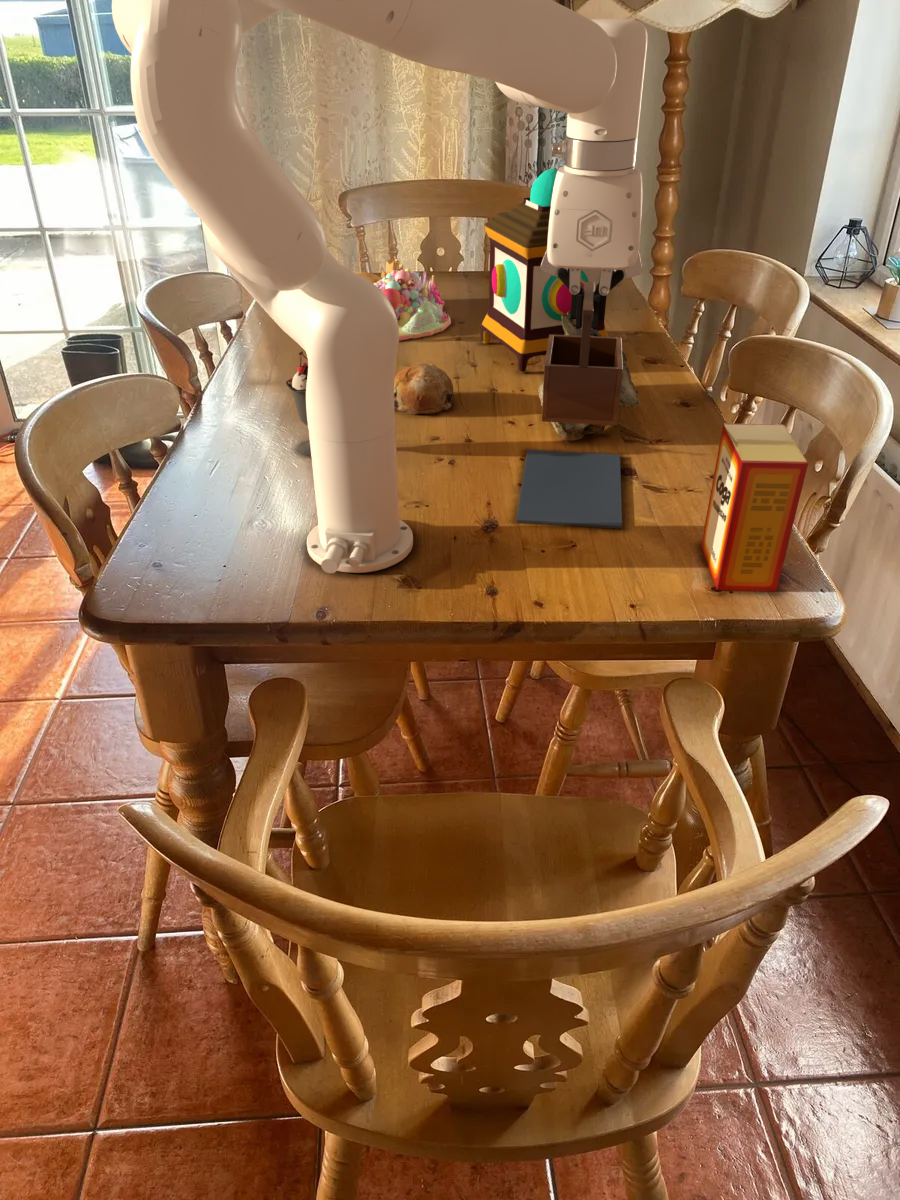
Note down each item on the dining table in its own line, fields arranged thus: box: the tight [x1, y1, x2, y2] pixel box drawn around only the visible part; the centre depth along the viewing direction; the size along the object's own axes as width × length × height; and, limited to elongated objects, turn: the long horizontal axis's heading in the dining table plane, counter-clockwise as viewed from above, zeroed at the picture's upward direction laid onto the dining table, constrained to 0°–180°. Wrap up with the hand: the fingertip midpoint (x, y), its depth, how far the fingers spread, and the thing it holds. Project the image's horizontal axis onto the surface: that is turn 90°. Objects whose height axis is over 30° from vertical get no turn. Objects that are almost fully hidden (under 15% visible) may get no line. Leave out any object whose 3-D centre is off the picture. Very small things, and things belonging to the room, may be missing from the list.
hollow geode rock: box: [537, 311, 640, 442], centre depth 138 cm, size 28×13×15 cm
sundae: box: [285, 350, 311, 457], centre depth 126 cm, size 7×7×15 cm
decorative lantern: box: [480, 168, 610, 374], centre depth 154 cm, size 20×20×30 cm
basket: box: [541, 282, 623, 426], centre depth 110 cm, size 11×9×14 cm
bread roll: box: [394, 363, 454, 416], centre depth 142 cm, size 10×10×8 cm
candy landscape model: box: [355, 258, 452, 341], centre depth 175 cm, size 25×24×9 cm
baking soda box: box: [700, 423, 809, 592], centre depth 100 cm, size 10×6×16 cm
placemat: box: [515, 449, 623, 530], centre depth 120 cm, size 20×13×1 cm, turn 172°
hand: (586, 324), depth 108 cm, fingers closed on basket, 1 cm apart
